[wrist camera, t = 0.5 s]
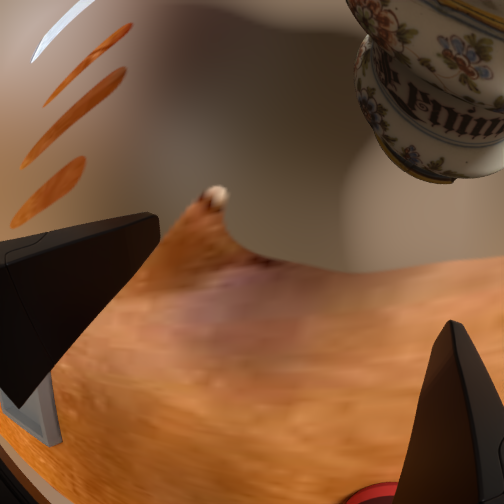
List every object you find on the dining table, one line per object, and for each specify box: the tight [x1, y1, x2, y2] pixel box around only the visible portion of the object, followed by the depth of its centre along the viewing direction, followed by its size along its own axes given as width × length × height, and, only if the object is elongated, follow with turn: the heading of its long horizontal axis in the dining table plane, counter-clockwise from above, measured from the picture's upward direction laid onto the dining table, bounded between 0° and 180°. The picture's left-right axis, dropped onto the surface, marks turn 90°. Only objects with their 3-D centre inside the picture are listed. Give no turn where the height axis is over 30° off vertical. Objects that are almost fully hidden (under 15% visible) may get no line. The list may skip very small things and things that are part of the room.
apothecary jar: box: [346, 0, 504, 184], centre depth 12 cm, size 12×12×18 cm
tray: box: [0, 372, 62, 447], centre depth 34 cm, size 14×14×2 cm
